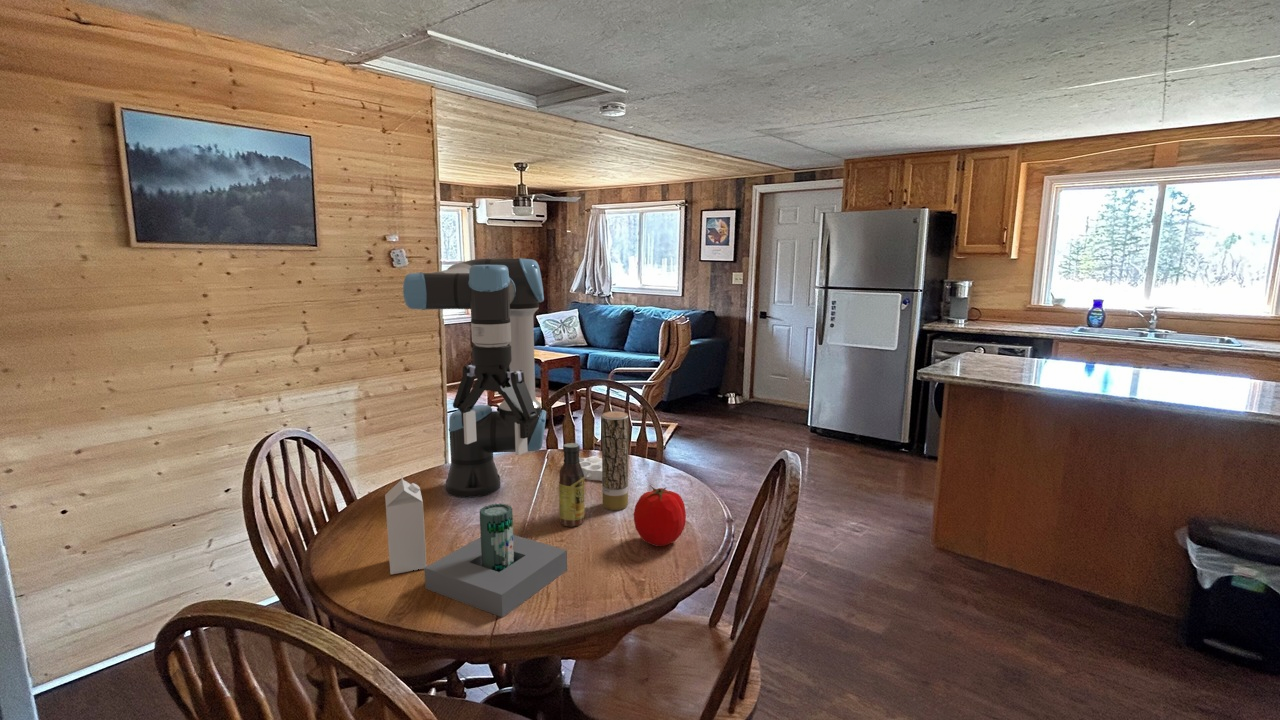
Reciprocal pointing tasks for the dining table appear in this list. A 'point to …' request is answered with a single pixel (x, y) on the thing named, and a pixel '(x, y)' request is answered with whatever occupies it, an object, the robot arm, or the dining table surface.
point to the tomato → (660, 516)
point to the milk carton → (405, 528)
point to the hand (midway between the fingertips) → (495, 447)
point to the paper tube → (615, 460)
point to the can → (496, 536)
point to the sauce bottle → (571, 487)
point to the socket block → (496, 575)
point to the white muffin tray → (591, 467)
